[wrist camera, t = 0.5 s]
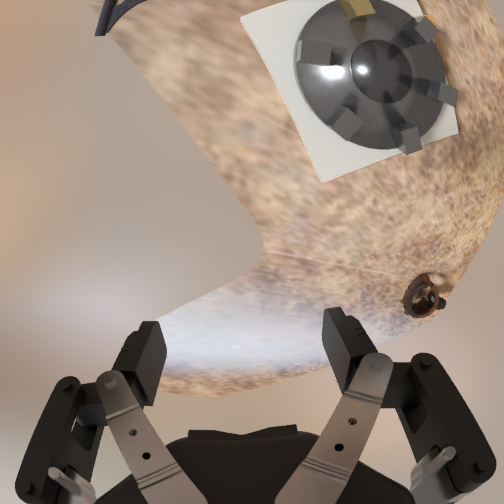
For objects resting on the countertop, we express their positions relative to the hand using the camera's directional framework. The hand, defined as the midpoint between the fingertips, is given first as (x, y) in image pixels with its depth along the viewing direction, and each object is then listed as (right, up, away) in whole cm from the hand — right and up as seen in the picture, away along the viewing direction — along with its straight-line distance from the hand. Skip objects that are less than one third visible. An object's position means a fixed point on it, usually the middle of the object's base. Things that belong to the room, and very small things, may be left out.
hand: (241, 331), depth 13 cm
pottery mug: (+37, -4, +39) cm, 53 cm away
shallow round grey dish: (+15, +26, +13) cm, 33 cm away
